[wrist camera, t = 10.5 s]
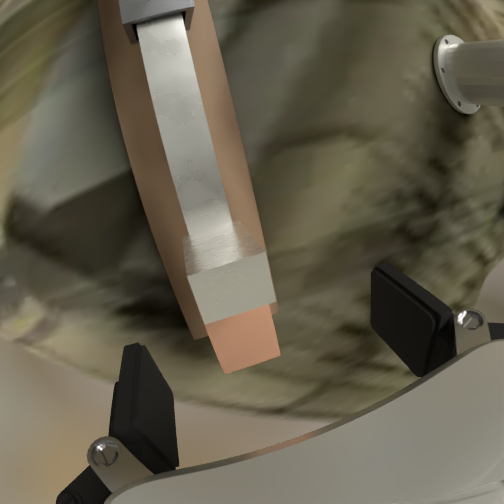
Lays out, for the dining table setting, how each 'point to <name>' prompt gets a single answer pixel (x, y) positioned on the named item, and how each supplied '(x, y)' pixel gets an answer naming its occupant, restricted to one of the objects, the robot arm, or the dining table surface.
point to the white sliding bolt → (200, 181)
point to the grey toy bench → (152, 13)
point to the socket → (244, 339)
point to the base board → (153, 153)
